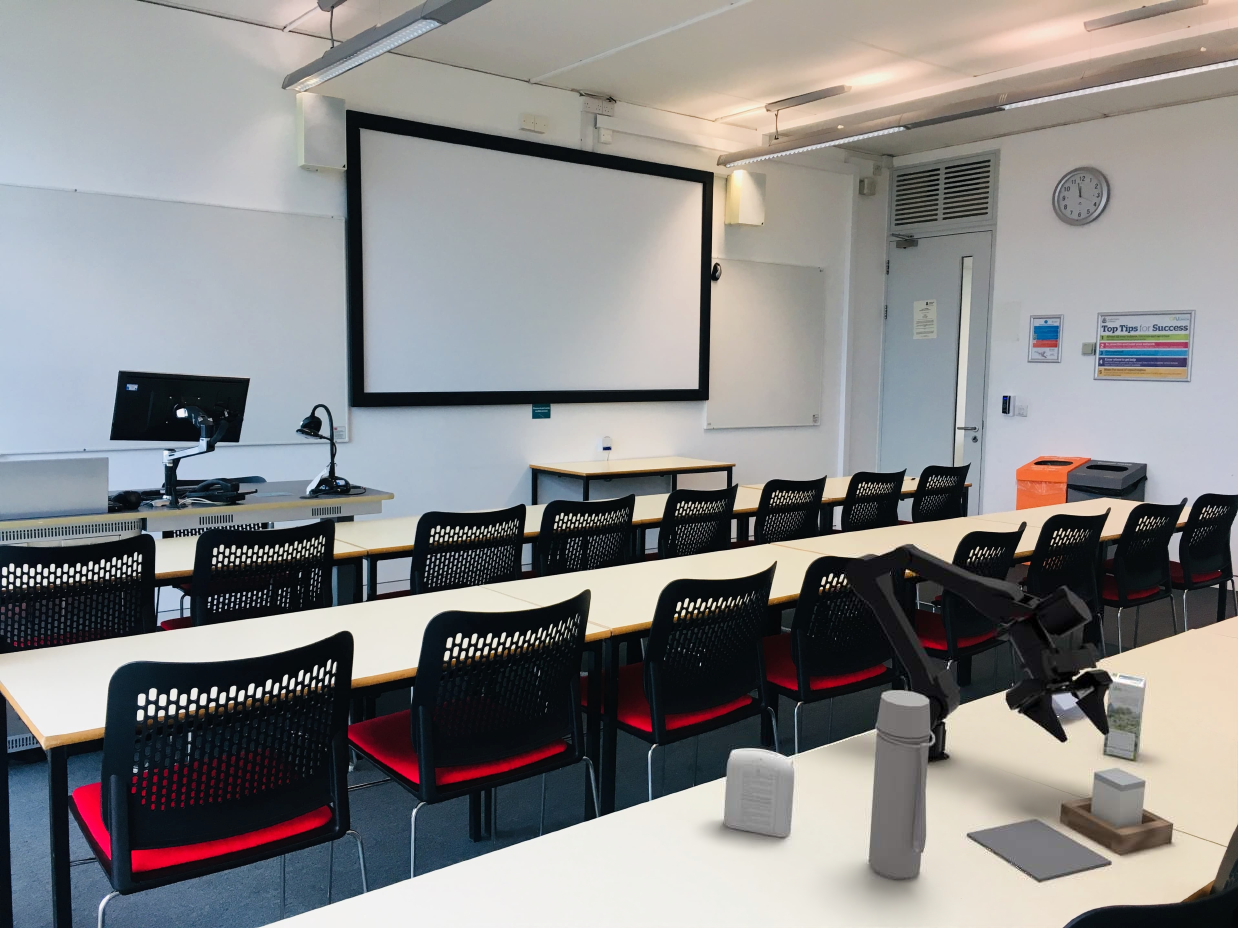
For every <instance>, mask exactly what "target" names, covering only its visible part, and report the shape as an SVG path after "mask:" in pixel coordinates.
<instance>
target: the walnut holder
mask: <svg viewBox="0 0 1238 928" xmlns="http://www.w3.org/2000/svg"><path fill="white" fill-rule="evenodd" d="M1091 804H1092V796H1090V797H1086V798H1082V799H1077V800H1071V801H1067V802H1066V801H1065V802H1061V804H1060V813H1059V814H1060V815H1059V823H1060V824H1061V823H1062V824H1063V825H1065V826H1067V827H1069V828H1070V829H1073V830H1074V831H1076V832H1078V833H1080V834H1081V835H1083V836H1084V837H1087V838H1089V839H1090V840H1092V841H1094V842H1096V843H1098V844H1100V845H1101V846H1103V847H1105V848H1107V849H1109V850H1110V851H1112V852H1114V853H1116V854H1118V855H1126V854H1129V853H1133V852H1137V851H1141V850H1145V849H1149V848H1153V847H1158V846H1161V845H1166V844H1170V843H1172V840H1173V829H1174V822H1171V821H1169V820H1167V819H1165V818H1163V817H1161V816H1160V815H1157V814H1155V813H1153V812H1151V811H1149V810H1146V809H1144V808H1143V812H1142V823H1141V825H1136V826H1132V827H1128V828H1123V829H1119V828H1117V827H1115V826H1113V825H1111V824H1109V823H1107V822H1105V821H1103V820H1102V819H1100V818H1098V817H1096V816H1094V815H1092V814H1091Z"/></svg>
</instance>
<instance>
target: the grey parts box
mask: <svg viewBox="0 0 1238 928" xmlns="http://www.w3.org/2000/svg"><path fill="white" fill-rule="evenodd" d="M1145 789H1146V780H1144V779H1143V778H1141V777H1138V776H1136V775H1134V774H1133V773H1129V772H1128V771H1125V770H1123V769H1121V768H1119V767H1115V768H1109V769H1104V770H1099V771H1094V774H1093V784H1092V795H1091V797H1092V804H1091V814H1092V815H1094V816H1096V817H1098V818H1100V819H1102V820H1103V821H1105V822H1107V823H1109V824H1111V825H1113V826H1115V827H1117V828H1119V829H1123V828H1128V827H1132V826H1136V825H1141V823H1142V812H1143V809H1144V800H1145Z"/></svg>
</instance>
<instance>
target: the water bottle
mask: <svg viewBox="0 0 1238 928" xmlns="http://www.w3.org/2000/svg"><path fill="white" fill-rule="evenodd" d="M876 719H877V720H876V723H875V730H876V732H877V733H876V738H875V739H876V741H875V755H874V767H873V768H874V770H873V772H874V773H873V785H872V786H873V787H872V788H873V789H872V801H871V816H870V817H871V820H870V821H871V822H870V835H869V851H868V863H869V864H870V866H871V867H872V869H873V870H874V872H875V873H878V874H879V875H881V876H882V877H884V878H885V877H886V878H889V879H894V880H908V879H911V878H913V877H915V876H917V875H918V874H919V873H920V870H921V864H922V862H921V861H922V854H923V853H924V852H925V847H926V840H927V807H926V806H927V794H926V793H927V792H926V791H927V789H926V787H927V778H928V764H929V762H928V750H929V746H932V745H933V743H934V742H935V735H934V734H933V733H932V732H931V731H930V704H929V699H928V698H926V697H925V696H924V695H921V694H918V693H915V692H912V691H908V690H903V689H902V690H901V689H900V690H894V689H892V690H887V691H883V692H882V693H881V696H880V702H879V709H878V714H877V718H876ZM930 734H931V736H932V738H933V739H932V742H931V743H929V736H930Z"/></svg>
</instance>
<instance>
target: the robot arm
mask: <svg viewBox="0 0 1238 928" xmlns="http://www.w3.org/2000/svg"><path fill="white" fill-rule="evenodd" d="M900 569H904V570H907V571H909V572H910V573H913V574H915V575H917V576H919V577H921V578H924V579H926V580H928V581H930V582H931V583H934V584H936V585H938V586H939V587H942V588H944V589H946V590H949V592H950V591H951V592H953V593H954V594H957V595H959V596H961V597H963V598H964V599H965V600H967V601H968V602H969V603H970V604H971V606H972V607H974V608H975V610H977V611H979V612H980V613H982V614H983V615H985V616H986V617H987V618H989V619H990V620H993V621H995V622H1007V621H1008V620H1010V619H1012V618H1016V619H1015V620H1012V621H1011V622H1010V623H1008V624H1005V623H999V624H998V628H997V630H996V632H995V636H994V637H995V638H996V640H1000V641H1001V640H1003V641H1008V640H1010V642H1012V645H1013V646H1014V648H1015V650H1016V651H1017V654H1018V655H1019V657H1020V659H1021V661H1022V663H1021V664H1020V665H1019V668H1020V670H1021V671H1022V672H1024V671H1027V672H1028V674H1029V675H1030V677H1031V678H1027V679H1021V680H1020V681H1019V682H1017V683H1016V684H1015V685H1013V686H1012V687H1011V688H1010V689H1008V690H1007V691H1006V692H1005V697H1004V699H1005V702H1006V704H1007V706H1008V707H1009V708H1008V709H1009V710H1010V711H1015V710H1017V713H1018V714H1019V715H1024V716H1026V717H1027V718H1028V719H1029V720H1031V721H1032V722H1034V723H1036V724H1037V725H1038V726H1039V727H1041V728H1042V729H1044V730H1045V731H1046V732H1048V734H1050V735H1051V736H1053V737H1054V738H1055V739H1056V740H1057V741H1059V742H1060V743H1062V744H1063V743H1066V742H1067V741H1068V737H1067V734H1066V732H1065V729H1064V727H1063V726H1062V724H1061V722H1060V719H1059V717H1057V715H1056V713H1055V711H1054V709H1053V707H1052V695H1059V694H1066V693H1071V695H1072V696H1073V697H1074V698H1076V699H1077V700H1078V701H1077V702H1075V703H1076V704H1077V706H1078V707H1079V708H1080V709H1081V710H1082V711H1083V713H1084V714H1085V715H1086V718H1087V719H1088V720H1089V721H1090V722H1091V723H1092V724H1093V726H1094V727H1096V729H1097V730H1098V731H1099V732H1100V733H1101V734H1102V735H1103V736H1105V735H1107V734H1109V726H1108V721H1107V716H1106V714H1107V710H1106V706H1105V696H1106V693H1107V692H1108V691H1109V689H1110V685H1111V684H1112V683H1113V680H1112V678H1111V675H1110V674H1109V672H1108V671H1107V670H1105V669H1101V668H1100V669H1097V668H1098V665H1097V663H1099V662H1100V661H1101V654H1100V652H1099V650H1098V649H1097V647H1096V646H1095V645H1094V643H1092V642H1090V643H1089V642H1088V643H1084V644H1079V645H1078V646H1077V650H1071V651H1066V650H1065V648H1064V647H1062V646H1055V644H1054V643H1053V640H1052V639H1051V637H1050V636H1049V635H1051V636H1058V637H1060V638H1063V637H1064V636H1066V635H1069V634H1070V633H1072V632H1073V631H1076V630H1077V629H1079V628H1080V627H1082V626H1084V625H1085V624H1087V623H1089V622H1090V621H1093V615H1092V613H1091V611H1090V609H1089V607H1088V605H1087V604H1086V602H1085V601H1084V600H1083V599H1082V598H1080V597H1079V596H1078V595H1077V594H1075V593H1074V592H1073V591H1071V590H1070V589H1069V588H1068V587H1067V585H1063V586H1061V587H1060V588H1058V589H1056V590H1055V591H1054V592H1053V593H1052V594H1050V595H1049V596H1047V597H1046V598H1044V599H1043V598H1039V597H1037V596H1034V595H1031V594H1028V593H1026V592H1023V589H1021V587H1019V586H1018V585H1016V584H1015V583H1012V582H1009V581H1005V580H1001V579H998V578H993V577H988V576H987V577H985V576H980V575H978V574H974V573H972V572H970V571H967V570H966V569H963V568H961V567H959V566H957V565H955V564H954V563H953V564H952V563H950V562H948V561H946V560H944V559H942V558H940V557H938V556H935V555H933V554H931V553H929V552H926V551H924V550H922V549H920V548H918V547H917V546H916V545H915V544H911V543H905V544H902V545H900V546H897V547H895V548H894V549H893V550H890V551H888V552H885V553H883V554H880V555H877V554H875V553H867V554H864V555H861V556H859V557H855V558H853V559H851V560H850V561H848V563H847V564H846V566H845V570H844V579H845V580H846V582H847V583H848V585H849V586H850V587H851V588H852V590H853V591H854V593H855V594H856V595H857V597H859V598H861V599H862V600H863V601H864V602H866V604H868V605H869V606H870V608H871V609H872V610H873V612H874V613H875V614H874V615H875V616H876V619H878V621H879V623H880V625H881V626H882V629H883V630H884V633H885V634H886V635H887V637H888V640H889V641H890V643H891V645H892V646H893V648H894V651H895V652H896V655H898V658H899V659H900V661H901V663H902V665H903V666H904V668H905V670H906V671H907V673H908V676H909V680H910V686H911V692H915V693H918V694H921V695H924V696H925V697H926V698H928V699H929V704H930V731H931V732H932V733H933V734H934V735H935V742H934V743H933V745H932V746H929V750H928V763H929V762H935V761H940V760H947V759H949V758H950V754H948V753H946V752H945V751H946V739H947V729H946V724H947V722H946V721H944V720H946V719H947V718H948V716H950V715H951V714H952V713H953V712H954V711H956V710H957V709H958V708H959V705H960V703H961V700H962V699H961V694H960V692H959V690H960V689H961V686H959V685H958V684H957V683H956V681H955V680H954V677H953V675H952V672H951V670H950V669H949V668H946V669H945V670H941V669H939V668H938V667H937V666H936V665H934V663H933V662H932V660H931V659H930V657H929V655H928V653H927V652H926V650H925V648H924V646H923V644H922V642H921V641H920V639H919V637H918V635H917V634H916V632H915V630H914V628H913V626H912V625H911V623H910V621H909V619H908V618H907V615H906V614H905V612H904V611H903V609H902V607H901V605H900V603H899V602H898V600H897V598H896V597H895V594H894V588H893V582H892V581H893V580H892V577H891V574H890V573H892V572H895V571H898V570H900ZM1030 614H1031V615H1030ZM1028 615H1030V616H1028ZM1027 616H1028V617H1027ZM1086 669H1087V670H1086ZM1088 669H1091V670H1088ZM1084 670H1085V671H1084ZM1081 671H1084V672H1083V673H1081ZM1075 677H1076V678H1075ZM1073 678H1075V679H1073ZM1063 687H1065V688H1063ZM932 739H933V738H932V736H931V734H930V736H929V743H931V742H932Z"/></svg>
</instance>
